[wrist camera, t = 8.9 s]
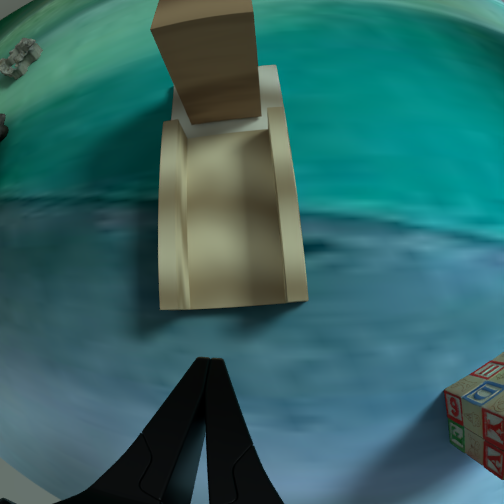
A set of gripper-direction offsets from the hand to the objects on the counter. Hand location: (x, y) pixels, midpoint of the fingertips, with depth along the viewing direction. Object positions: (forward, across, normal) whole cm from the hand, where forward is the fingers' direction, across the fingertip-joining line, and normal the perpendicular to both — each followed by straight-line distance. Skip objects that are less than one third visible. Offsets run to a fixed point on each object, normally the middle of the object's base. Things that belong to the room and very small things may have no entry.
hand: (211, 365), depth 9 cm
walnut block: (+22, +2, -8) cm, 23 cm away
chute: (+17, +1, -1) cm, 17 cm away
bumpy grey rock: (+38, +41, -18) cm, 59 cm away
